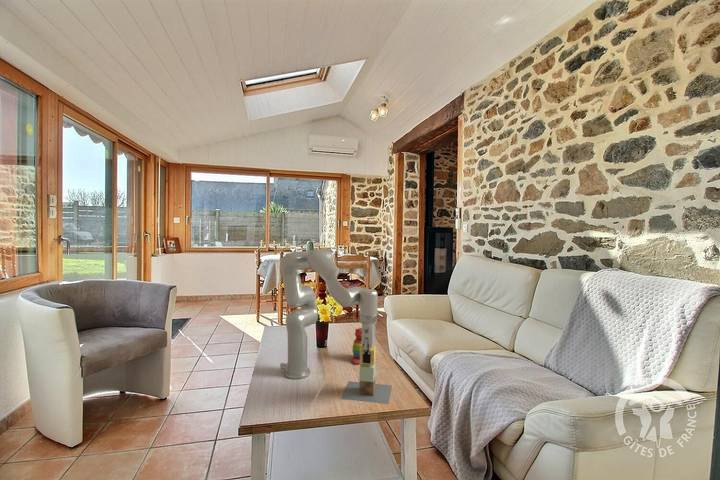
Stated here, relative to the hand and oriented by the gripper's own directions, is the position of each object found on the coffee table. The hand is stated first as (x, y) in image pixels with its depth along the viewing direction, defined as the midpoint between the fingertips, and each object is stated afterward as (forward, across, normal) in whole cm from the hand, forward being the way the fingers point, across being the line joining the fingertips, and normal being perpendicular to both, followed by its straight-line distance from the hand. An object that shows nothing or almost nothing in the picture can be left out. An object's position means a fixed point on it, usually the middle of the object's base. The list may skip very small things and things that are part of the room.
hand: (367, 359), depth 145 cm
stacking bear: (+16, +36, +9) cm, 40 cm away
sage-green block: (+8, 0, 0) cm, 8 cm away
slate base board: (+16, 0, 0) cm, 16 cm away
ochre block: (+1, 0, 0) cm, 1 cm away
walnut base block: (+14, 0, 0) cm, 14 cm away
